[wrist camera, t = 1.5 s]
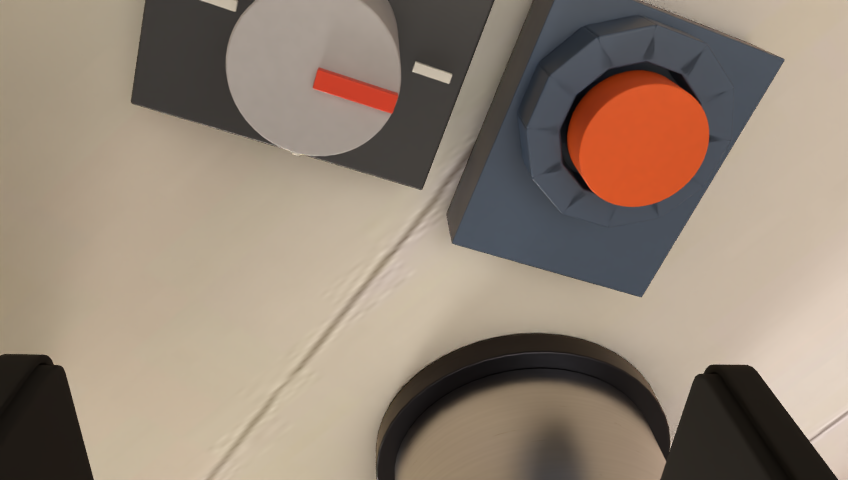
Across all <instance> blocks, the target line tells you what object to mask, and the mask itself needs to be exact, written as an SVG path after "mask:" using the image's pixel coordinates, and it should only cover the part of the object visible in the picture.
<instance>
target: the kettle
mask: <svg viewBox="0 0 848 480" xmlns="http://www.w3.org/2000/svg"><path fill="white" fill-rule="evenodd" d="M669 451H670V433H669V426H668V423H667V419H666V416H665V414H664V412H663V410H662V408H661V406H660V404H659V402H658V400H657V398H656V396H655V394H654V392H653V390H652V389H651V387H650V385H649V383H648V382H647V381H646V380H645V378H644V377H643V376H642V374H641V373H640V372H639V371H638V370H637V369H636V368H635V367H633V366H632V365H631V364H630V363H629V362H628V361H626V360H625V359H623V358H622V357H620V356H619V355H617V354H616V353H614V352H612V351H610V350H608V349H606V348H604V347H602V346H600V345H597V344H594V343H591V342H588V341H585V340H582V339H578V338H573V337H568V336H563V335H552V334H519V335H511V336H503V337H498V338H494V339H489V340H485V341H481V342H478V343H475V344H472V345H469V346H467V347H464V348H461V349H459V350H457V351H455V352H452V353H450V354H448V355H446V356H444V357H442V358H441V359H439V360H437V361H436V362H434V363H433V364H431V365H429V366H428V367H426V368H425V369H424V370H422V371H421V372H420V373H419V374H417V375H416V376H415V377H414V378H412V379H411V380H410V382H409V383H408V384H407V385H406V386H405V387H404V388H403V389H402V390H401V391H400V392H399V393H398V395H397V396H396V398H395V399H394V400H393V402H392V403H391V404H390V406H389V408H388V410H387V412H386V414H385V416H384V418H383V420H382V423H381V426H380V429H379V432H378V437H377V444H376V480H660V479H661V476H662V473H663V470H664V467H665V464H666V461H667V458H668V455H669Z"/></svg>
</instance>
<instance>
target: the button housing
mask: <svg viewBox="0 0 848 480" xmlns="http://www.w3.org/2000/svg"><path fill="white" fill-rule="evenodd" d="M783 62H784V59H783V58H781V57H778V56H776V55H774V54H772V53H770V52H767V51H765V50H763V49H761V48H759V47H756V46H754V45H752V44H750V43H747V42H745V41H742V40H740V39H737V38H735V37H732V36H729V35H727V34H724V33H722V32H719V31H717V30H714V29H712V28H709V27H706V26H704V25H701V24H699V23H696V22H694V21H691V20H688V19H686V18H683V17H681V16H678V15H676V14H673V13H671V12H668V11H665V10H663V9H660V8H658V7H655V6H653V5H650V4H647V3H645V2H642V1H640V0H534V1H533V3H532V6H531V8H530V10H529V13H528V15H527V18H526V20H525V23H524V25H523V28H522V30H521V33H520V35H519V37H518V40H517V42H516V45H515V47H514V50H513V52H512V55H511V57H510V60H509V62H508V64H507V67H506V69H505V72H504V74H503V77H502V79H501V82H500V84H499V87H498V89H497V91H496V94H495V96H494V99H493V101H492V104H491V106H490V109H489V111H488V113H487V116H486V118H485V121H484V123H483V126H482V128H481V131H480V133H479V136H478V138H477V140H476V143H475V145H474V148H473V150H472V153H471V155H470V158H469V160H468V163H467V165H466V167H465V170H464V172H463V175H462V177H461V180H460V182H459V185H458V187H457V190H456V192H455V194H454V197H453V199H452V202H451V204H450V207H449V209H448V212H447V220H448V225H449V231H450V236H451V241H452V244H455V245H459V246H462V247H466V248H469V249H473V250H477V251H480V252H484V253H487V254H491V255H494V256H498V257H501V258H505V259H508V260H512V261H515V262H519V263H522V264H526V265H529V266H533V267H536V268H540V269H543V270H547V271H550V272H554V273H558V274H561V275H565V276H568V277H572V278H575V279H579V280H582V281H586V282H589V283H593V284H596V285H600V286H603V287H607V288H610V289H614V290H617V291H621V292H624V293H628V294H632V295H635V296H639V297H642V296H643V294H644V293H645V291H646V289H647V288H648V286H649V284H650V283H651V281H652V279H653V278H654V276H655V274H656V273H657V271H658V269H659V268H660V266H661V264H662V263H663V261H664V259H665V258H666V256H667V254H668V253H669V251H670V249H671V248H672V246H673V244H674V243H675V241H676V239H677V238H678V236H679V235H680V233H681V231H682V230H683V228H684V226H685V225H686V223H687V221H688V220H689V218H690V216H691V215H692V213H693V211H694V210H695V208H696V206H697V205H698V203H699V201H700V200H701V198H702V196H703V195H704V193H705V191H706V190H707V188H708V186H709V185H710V183H711V181H712V180H713V178H714V176H715V175H716V173H717V172H718V170H719V168H720V167H721V165H722V163H723V162H724V160H725V158H726V157H727V155H728V153H729V152H730V150H731V148H732V147H733V145H734V143H735V142H736V140H737V138H738V137H739V135H740V133H741V132H742V130H743V128H744V127H745V125H746V123H747V122H748V120H749V118H750V117H751V115H752V113H753V112H754V110H755V109H756V107H757V105H758V104H759V102H760V100H761V99H762V97H763V95H764V94H765V92H766V90H767V89H768V87H769V85H770V84H771V82H772V80H773V79H774V77H775V75H776V74H777V72H778V70H779V69H780V67H781V65H782V64H783ZM633 70H644V71H651V72H655V73H658V74H660V75H663V76H665V77H666V78H668V79H669V80H671V81H672V82H674V83H675V84H677V85H678V86H679V87H681V88H682V89H684V90H685V91H687V92H688V93H689V94H691V95H692V96H693V97H694V98H695V99H696V100H697V101H698V102H699V104H700V105H701V106H702V108H703V110H704V112H705V114H706V117H707V120H708V125H709V144H708V148H707V152H706V155H705V158H704V160H703V162H702V164H701V166H700V168H699V169H698V171H697V172H696V174H695V175H694V176H693V178H692V179H691V180H690V181H689V182H688V183H687V184H686V185H685V186H684V187H683V188H682V189H680V190H679V191H678V192H676V193H675V194H673V195H672V196H670V197H668V198H666V199H664V200H662V201H660V202H657V203H654V204H651V205H646V206H640V207H625V206H619V205H615V204H612V203H609V202H607V201H605V200H603V199H601V198H600V197H599V196H597V195H596V194H595V193H594V192H593V191H592V190H591V189H590V188H589V187H588V185H587V184H586V182H585V181H584V179H583V178H582V176H581V175H580V173H579V172H578V170H577V169H576V167H575V166H574V164H573V162H572V160H571V158H570V155H569V152H568V146H567V132H568V126H569V122H570V119H571V117H572V114H573V112H574V110H575V108H576V106H577V105H578V103H579V102H580V100H581V99H582V98H583V97H584V96H585V94H586V93H587V92H588V91H589V90H591V89H592V88H593V87H594V86H595V85H597V84H598V83H600V82H601V81H603V80H604V79H606V78H608V77H610V76H613V75H615V74H618V73H622V72H625V71H633Z"/></svg>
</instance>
